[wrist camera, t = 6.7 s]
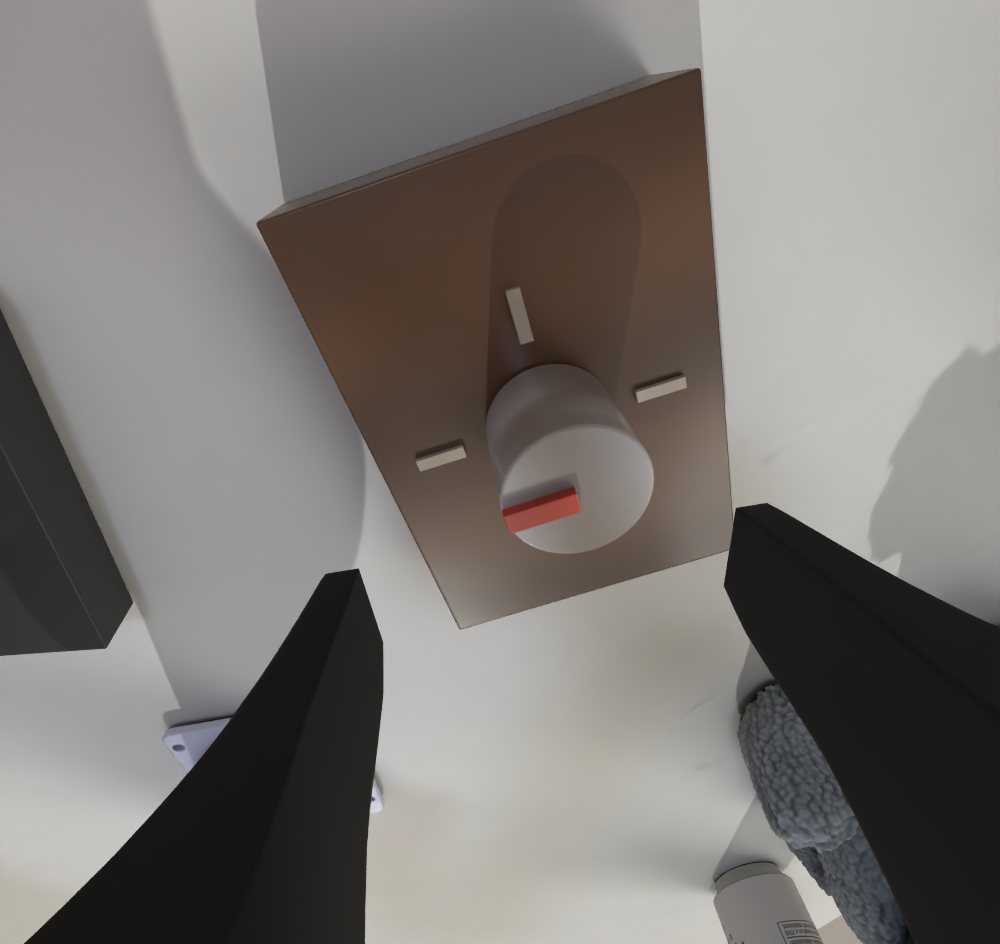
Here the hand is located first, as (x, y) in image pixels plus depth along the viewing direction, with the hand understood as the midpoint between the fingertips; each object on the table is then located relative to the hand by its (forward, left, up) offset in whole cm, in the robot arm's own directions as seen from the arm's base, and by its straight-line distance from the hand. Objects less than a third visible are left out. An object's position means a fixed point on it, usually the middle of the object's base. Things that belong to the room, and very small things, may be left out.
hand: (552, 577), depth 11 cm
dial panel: (0, -1, -9) cm, 9 cm away
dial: (0, -1, -6) cm, 6 cm away
